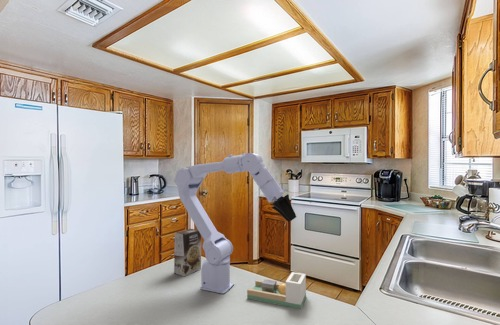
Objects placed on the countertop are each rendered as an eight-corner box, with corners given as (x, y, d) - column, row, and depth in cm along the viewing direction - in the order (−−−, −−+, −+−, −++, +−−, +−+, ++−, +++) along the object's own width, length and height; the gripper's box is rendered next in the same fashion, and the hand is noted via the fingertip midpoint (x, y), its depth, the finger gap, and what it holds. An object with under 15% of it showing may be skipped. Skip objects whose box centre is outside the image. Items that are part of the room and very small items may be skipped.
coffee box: (185, 276, 100) (185, 234, 100) (173, 273, 103) (173, 232, 104) (201, 269, 107) (201, 229, 108) (190, 266, 111) (190, 227, 111)
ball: (276, 296, 81) (276, 285, 81) (279, 291, 85) (279, 280, 85) (287, 298, 80) (287, 287, 80) (290, 293, 83) (290, 282, 83)
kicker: (261, 292, 84) (261, 282, 84) (264, 288, 86) (264, 279, 86) (273, 294, 82) (273, 284, 82) (276, 290, 85) (276, 281, 85)
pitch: (247, 298, 83) (247, 275, 83) (256, 287, 90) (256, 266, 90) (300, 309, 76) (300, 284, 76) (305, 296, 84) (305, 274, 84)
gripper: (278, 172, 78) (306, 210, 75) (276, 181, 92) (299, 214, 89) (259, 185, 78) (286, 224, 74) (260, 192, 92) (282, 225, 88)
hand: (292, 219), depth 82 cm, fingers open, 7 cm apart
